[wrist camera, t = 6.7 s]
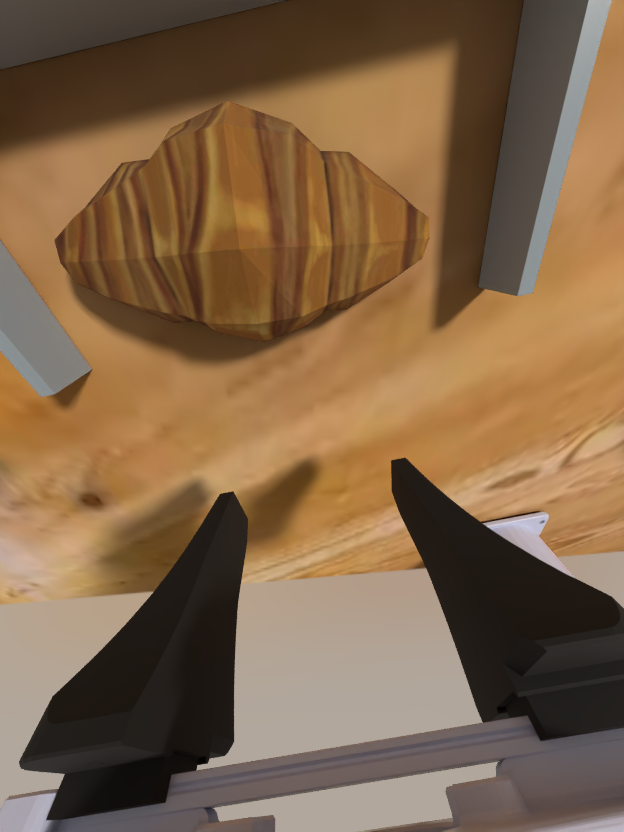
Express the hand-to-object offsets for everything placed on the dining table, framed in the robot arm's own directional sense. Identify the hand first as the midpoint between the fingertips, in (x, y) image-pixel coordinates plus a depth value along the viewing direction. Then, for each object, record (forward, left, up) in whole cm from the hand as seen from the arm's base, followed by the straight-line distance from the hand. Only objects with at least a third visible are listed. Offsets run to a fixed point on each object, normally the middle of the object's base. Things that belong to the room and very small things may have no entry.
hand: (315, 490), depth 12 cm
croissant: (+10, 0, -5) cm, 11 cm away
